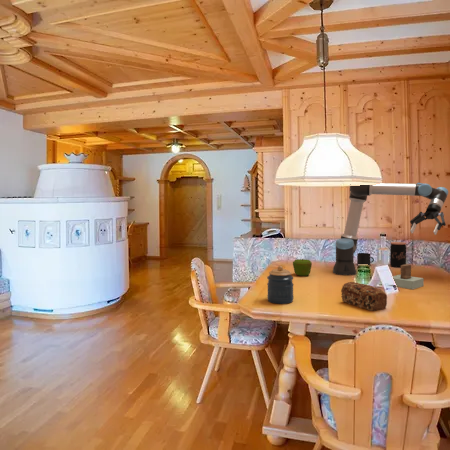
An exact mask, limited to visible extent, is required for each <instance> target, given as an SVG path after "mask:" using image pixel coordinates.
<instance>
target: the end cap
mask: <svg viewBox="0 0 450 450" xmlns="http://www.w3.org/2000/svg"><path fill="white" fill-rule="evenodd" d="M393 279H394V281H395V283H396V285H397V286H398V287H397V288H402V289H409V290H415V289H419V288H421V287H424V285H425V284H424V281H425V280H424V278H423V277H417V276H412V275H411V278H410V279H401V274H397V275H393Z"/></svg>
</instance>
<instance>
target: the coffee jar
mask: <svg viewBox="0 0 450 450" xmlns="http://www.w3.org/2000/svg"><path fill="white" fill-rule="evenodd" d="M389 251H390V252H389V254H390V256H389V259H390V260H389V264H390V267H392V268H397V269H398V268H400V269H401V265H405V264H407V242H403V241H391V242H390V250H389Z"/></svg>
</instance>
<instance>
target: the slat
mask: <svg viewBox="0 0 450 450" xmlns="http://www.w3.org/2000/svg"><path fill="white" fill-rule="evenodd" d="M400 275H401V279H410V278H411V276H412V264H407V263H406V264H405V265H401V268H400Z"/></svg>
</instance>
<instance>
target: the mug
mask: <svg viewBox="0 0 450 450" xmlns="http://www.w3.org/2000/svg"><path fill="white" fill-rule="evenodd" d="M356 256H357V257H356V258H357V259H356V260H357V261H356V265H357V266H358V264H368V265H370V266H371V263H374V262H375V258H374V257H373V256H371V253H368V252H358V253H356ZM371 259H372V261H371Z"/></svg>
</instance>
